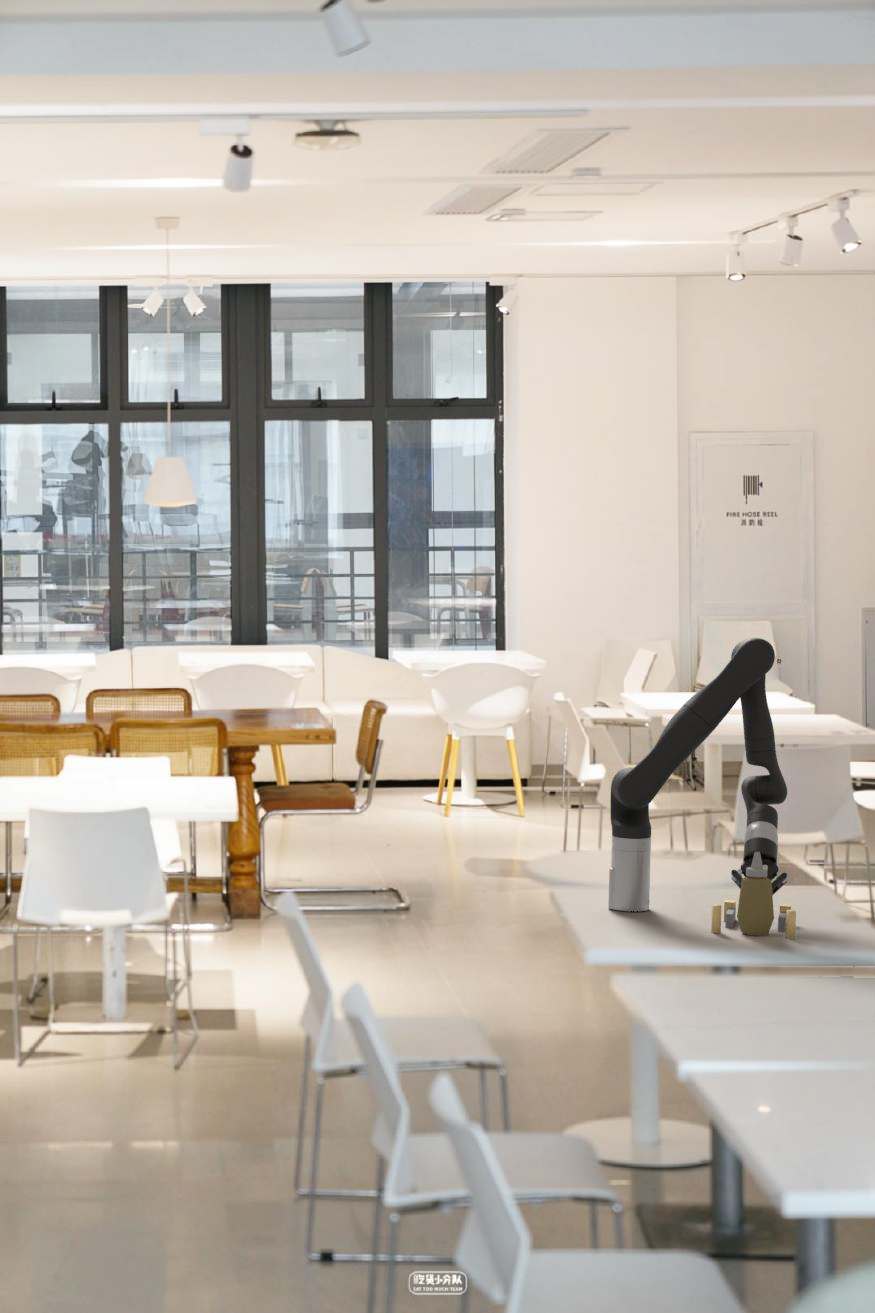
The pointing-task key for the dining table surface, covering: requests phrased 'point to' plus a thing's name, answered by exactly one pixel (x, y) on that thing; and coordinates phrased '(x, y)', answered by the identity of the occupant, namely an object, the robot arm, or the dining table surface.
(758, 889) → the squeeze bottle
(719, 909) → the wooden post frame
